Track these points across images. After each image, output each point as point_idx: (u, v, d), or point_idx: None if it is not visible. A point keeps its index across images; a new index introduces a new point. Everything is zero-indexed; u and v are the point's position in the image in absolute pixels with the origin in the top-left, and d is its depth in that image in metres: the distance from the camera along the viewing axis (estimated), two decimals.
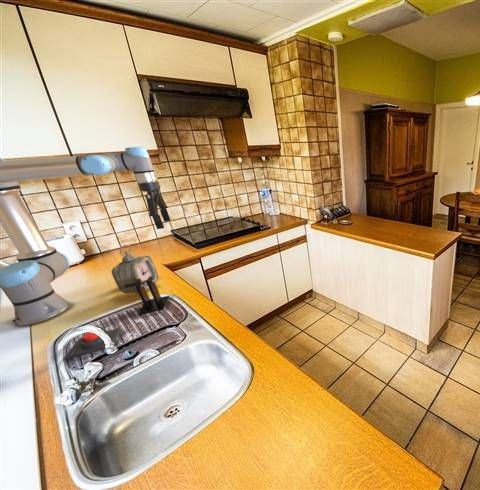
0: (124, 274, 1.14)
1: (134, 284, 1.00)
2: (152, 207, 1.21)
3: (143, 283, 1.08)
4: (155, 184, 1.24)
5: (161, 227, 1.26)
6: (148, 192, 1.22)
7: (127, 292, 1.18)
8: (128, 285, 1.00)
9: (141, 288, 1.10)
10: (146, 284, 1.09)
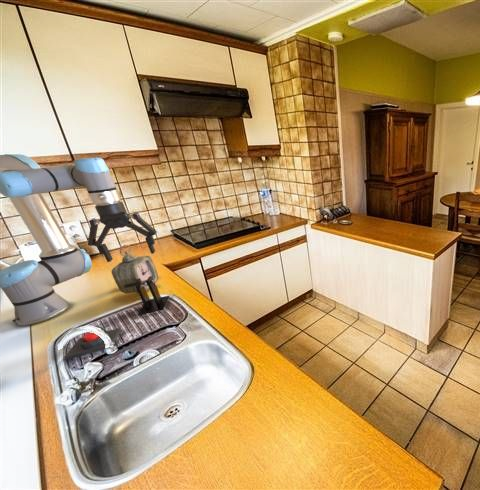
0: (124, 274, 1.14)
1: (134, 284, 1.00)
2: None
3: (143, 283, 1.08)
4: (98, 209, 0.92)
5: None
6: None
7: (127, 292, 1.18)
8: (128, 285, 1.00)
9: (141, 288, 1.10)
10: (146, 284, 1.09)
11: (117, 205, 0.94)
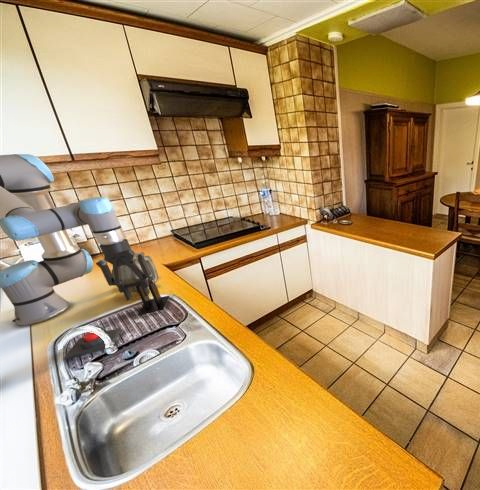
0: (124, 274, 1.14)
1: (134, 284, 1.00)
2: None
3: None
4: (102, 248, 0.91)
5: None
6: None
7: None
8: (128, 285, 1.00)
9: (141, 288, 1.10)
10: None
11: (121, 244, 0.93)
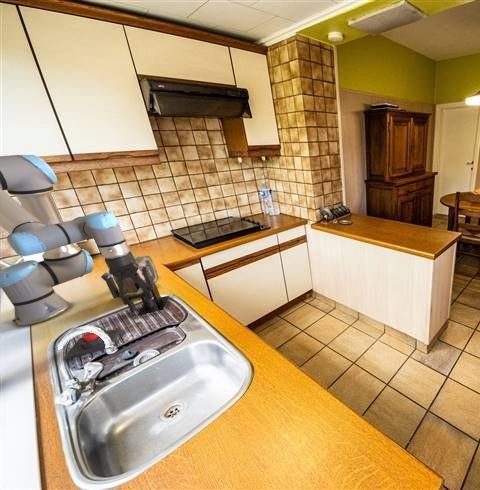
0: None
1: (138, 296, 1.02)
2: None
3: None
4: (107, 262, 0.92)
5: None
6: None
7: (127, 292, 1.18)
8: (132, 297, 1.01)
9: None
10: None
11: (126, 257, 0.95)
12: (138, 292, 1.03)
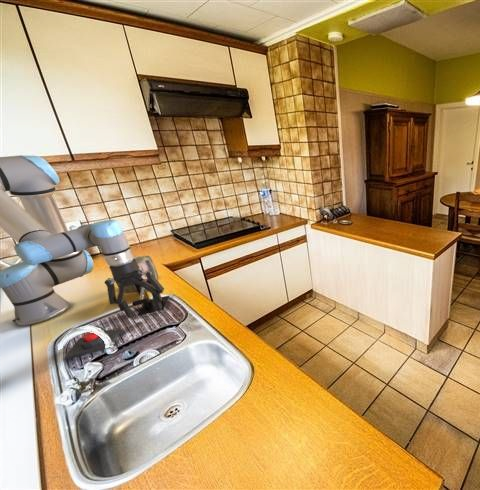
0: None
1: (142, 302, 1.03)
2: None
3: None
4: (112, 270, 0.94)
5: None
6: None
7: (127, 292, 1.18)
8: (136, 304, 1.03)
9: (141, 288, 1.10)
10: None
11: (130, 264, 0.96)
12: (141, 297, 1.05)
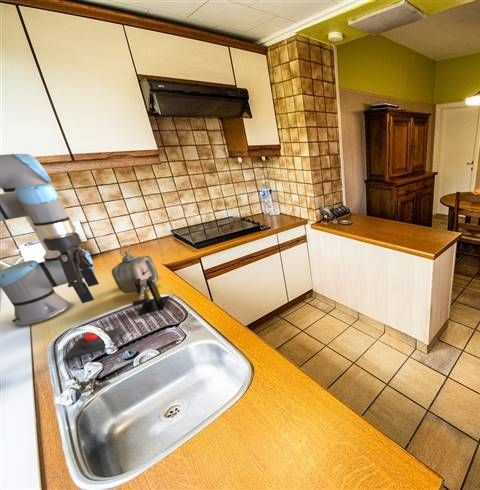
0: (124, 274, 1.14)
1: (142, 302, 1.03)
2: None
3: (145, 287, 1.09)
4: None
5: None
6: None
7: (127, 292, 1.18)
8: (136, 304, 1.03)
9: (141, 288, 1.10)
10: (147, 286, 1.10)
11: (48, 242, 0.79)
12: (141, 297, 1.05)
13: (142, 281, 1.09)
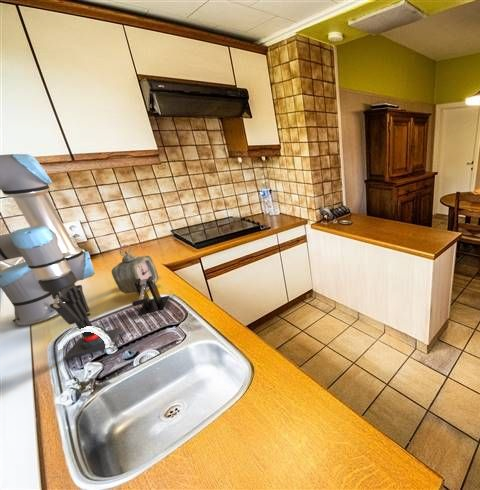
0: (124, 274, 1.14)
1: (142, 302, 1.03)
2: None
3: (145, 287, 1.09)
4: None
5: None
6: None
7: (127, 292, 1.18)
8: (136, 304, 1.03)
9: (141, 288, 1.10)
10: (147, 286, 1.10)
11: (40, 283, 0.80)
12: (141, 297, 1.05)
13: (142, 281, 1.09)
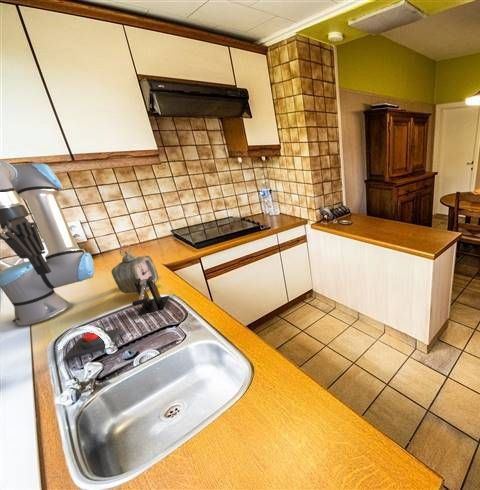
0: (124, 274, 1.14)
1: (142, 302, 1.03)
2: None
3: (145, 287, 1.09)
4: None
5: None
6: None
7: (127, 292, 1.18)
8: (136, 304, 1.03)
9: (141, 288, 1.10)
10: (147, 286, 1.10)
11: None
12: (141, 297, 1.05)
13: (142, 281, 1.09)
